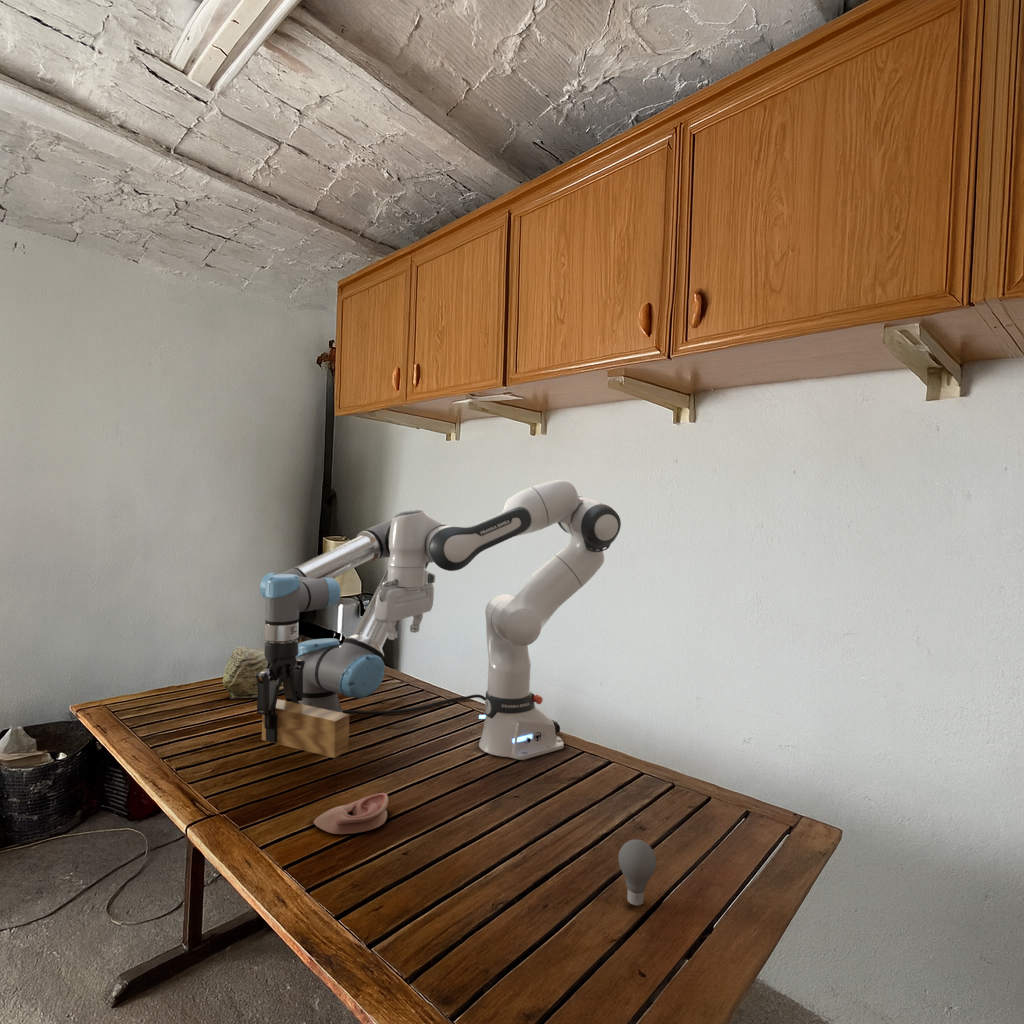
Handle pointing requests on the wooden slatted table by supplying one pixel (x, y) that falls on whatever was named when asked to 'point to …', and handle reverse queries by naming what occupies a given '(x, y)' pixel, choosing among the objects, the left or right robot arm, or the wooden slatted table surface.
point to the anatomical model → (355, 816)
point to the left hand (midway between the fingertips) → (280, 736)
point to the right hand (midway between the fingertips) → (404, 635)
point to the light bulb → (636, 868)
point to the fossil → (245, 672)
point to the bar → (311, 728)
